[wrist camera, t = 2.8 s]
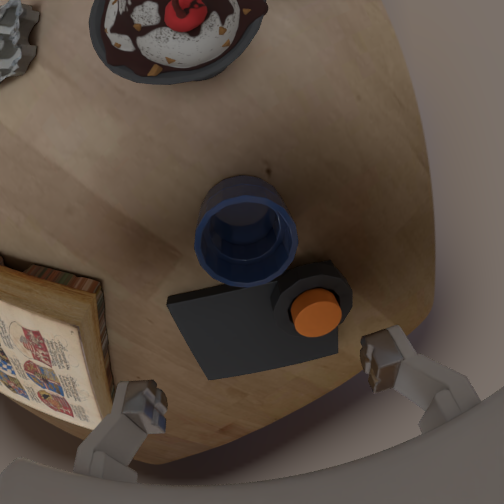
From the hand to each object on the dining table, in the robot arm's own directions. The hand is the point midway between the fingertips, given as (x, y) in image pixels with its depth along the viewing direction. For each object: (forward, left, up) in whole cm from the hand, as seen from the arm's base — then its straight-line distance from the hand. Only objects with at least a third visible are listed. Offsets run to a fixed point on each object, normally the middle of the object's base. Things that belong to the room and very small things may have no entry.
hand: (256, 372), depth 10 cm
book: (+32, +7, -14) cm, 35 cm away
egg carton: (+17, -22, -14) cm, 31 cm away
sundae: (0, -13, -14) cm, 20 cm away
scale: (+1, +12, -14) cm, 18 cm away
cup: (0, 0, -14) cm, 14 cm away
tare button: (-4, +8, -12) cm, 15 cm away
